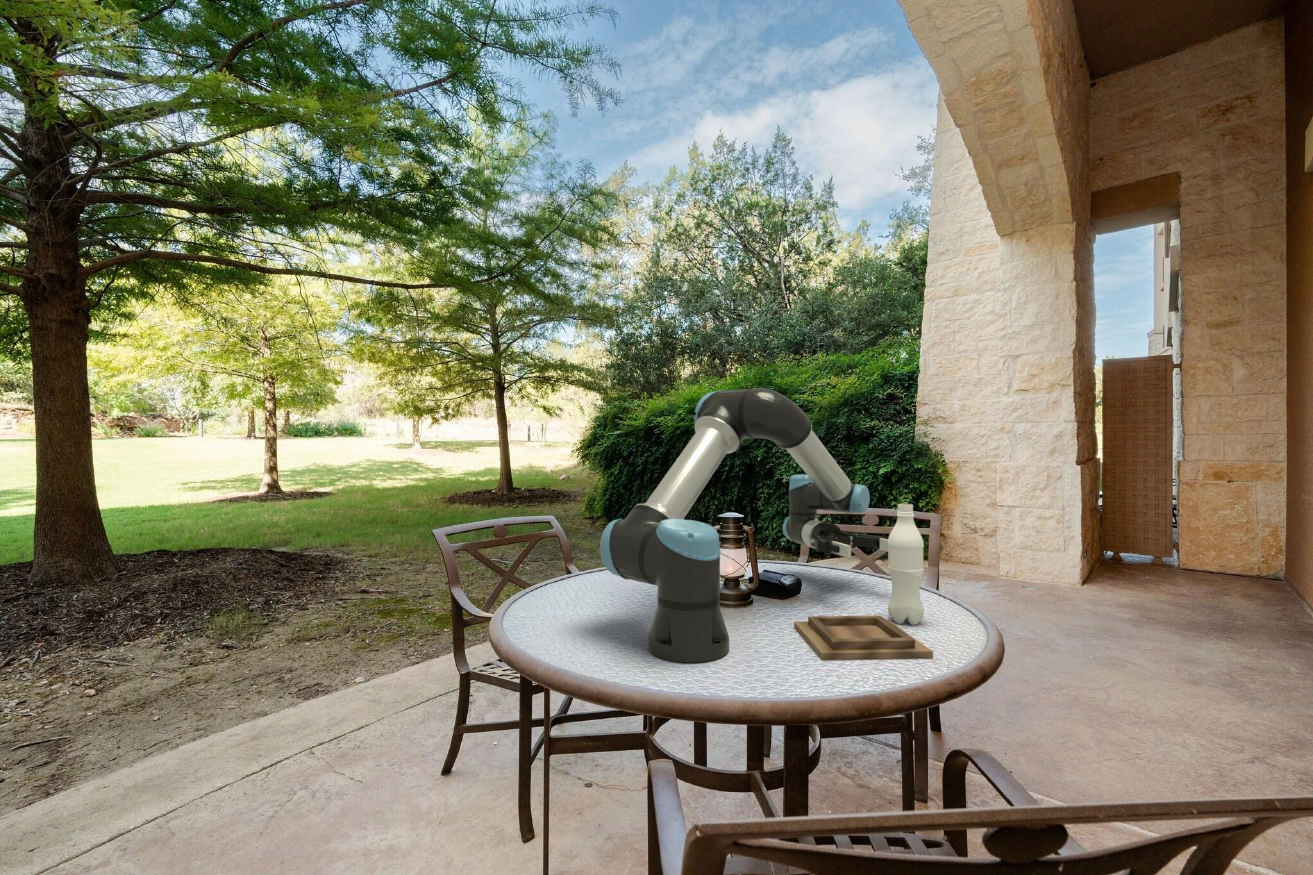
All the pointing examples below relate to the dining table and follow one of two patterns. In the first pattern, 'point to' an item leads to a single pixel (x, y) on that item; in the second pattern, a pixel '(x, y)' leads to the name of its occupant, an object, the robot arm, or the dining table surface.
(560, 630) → the dining table surface
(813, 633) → the walnut tray
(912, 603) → the water bottle
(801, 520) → the robot arm
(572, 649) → the dining table surface
